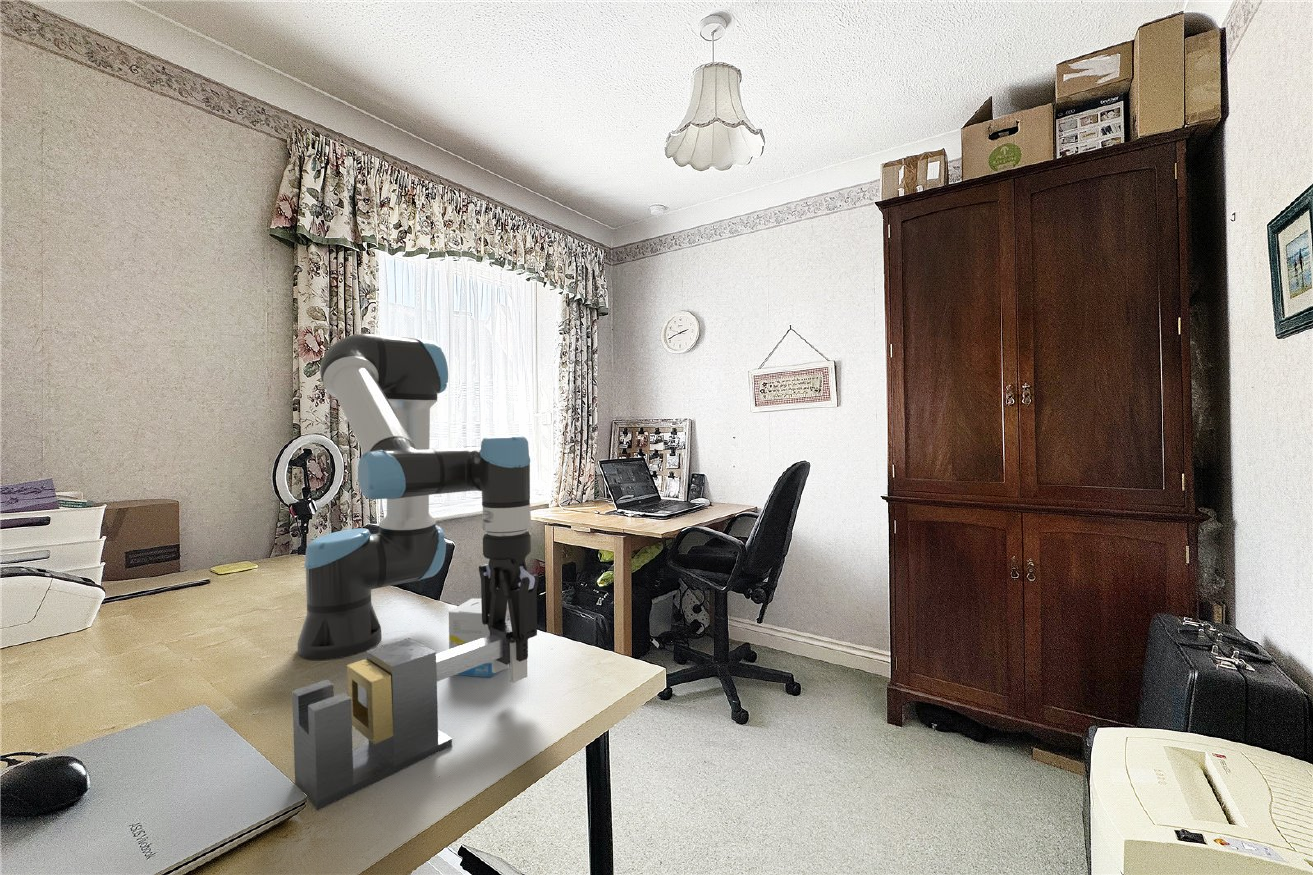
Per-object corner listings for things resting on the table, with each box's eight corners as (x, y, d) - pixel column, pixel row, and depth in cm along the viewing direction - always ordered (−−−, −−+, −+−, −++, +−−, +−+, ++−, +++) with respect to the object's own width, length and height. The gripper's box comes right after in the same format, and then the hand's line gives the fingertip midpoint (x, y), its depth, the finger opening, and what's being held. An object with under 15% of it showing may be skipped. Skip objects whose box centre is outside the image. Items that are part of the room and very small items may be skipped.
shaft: (355, 707, 74) (354, 670, 74) (511, 649, 93) (510, 620, 93) (369, 718, 71) (368, 680, 71) (527, 656, 90) (526, 626, 90)
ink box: (491, 678, 99) (489, 613, 99) (448, 674, 101) (446, 611, 100) (512, 658, 107) (511, 598, 107) (472, 655, 109) (471, 596, 109)
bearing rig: (295, 782, 70) (291, 673, 70) (424, 726, 83) (422, 633, 83) (317, 810, 65) (314, 692, 65) (452, 745, 78) (449, 647, 78)
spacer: (349, 723, 75) (346, 665, 75) (367, 715, 77) (365, 659, 77) (374, 744, 70) (371, 682, 70) (393, 736, 72) (390, 675, 71)
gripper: (457, 528, 92) (460, 667, 93) (519, 542, 81) (522, 700, 81) (496, 522, 98) (499, 652, 98) (559, 534, 86) (562, 682, 87)
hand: (509, 674), depth 90 cm, fingers closed on shaft, 5 cm apart
